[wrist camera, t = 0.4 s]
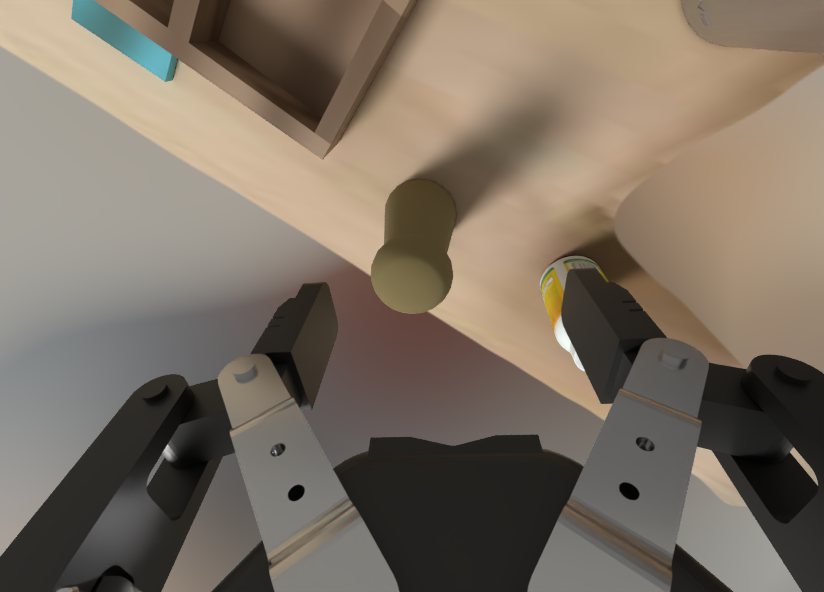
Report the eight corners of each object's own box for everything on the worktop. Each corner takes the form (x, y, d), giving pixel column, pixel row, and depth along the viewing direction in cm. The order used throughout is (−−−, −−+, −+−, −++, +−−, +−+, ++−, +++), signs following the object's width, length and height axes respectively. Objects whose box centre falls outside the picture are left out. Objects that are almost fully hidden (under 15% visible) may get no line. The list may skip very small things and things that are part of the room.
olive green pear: (373, 193, 30) (342, 262, 21) (443, 168, 28) (442, 232, 19) (400, 254, 33) (383, 336, 24) (465, 234, 31) (472, 316, 23)
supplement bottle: (585, 242, 31) (631, 314, 23) (609, 285, 33) (658, 363, 26) (527, 273, 33) (551, 347, 26) (553, 311, 36) (583, 389, 28)
